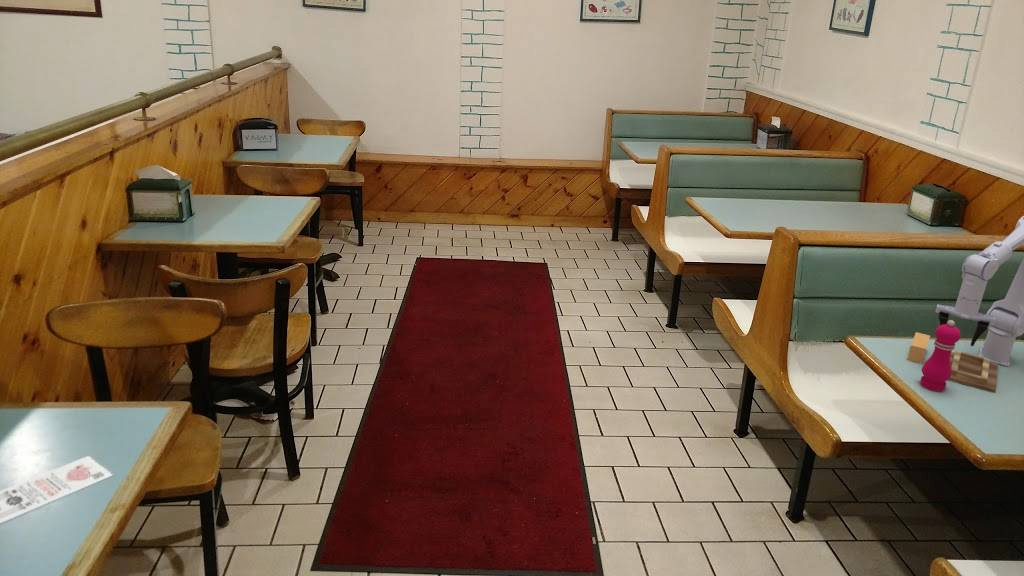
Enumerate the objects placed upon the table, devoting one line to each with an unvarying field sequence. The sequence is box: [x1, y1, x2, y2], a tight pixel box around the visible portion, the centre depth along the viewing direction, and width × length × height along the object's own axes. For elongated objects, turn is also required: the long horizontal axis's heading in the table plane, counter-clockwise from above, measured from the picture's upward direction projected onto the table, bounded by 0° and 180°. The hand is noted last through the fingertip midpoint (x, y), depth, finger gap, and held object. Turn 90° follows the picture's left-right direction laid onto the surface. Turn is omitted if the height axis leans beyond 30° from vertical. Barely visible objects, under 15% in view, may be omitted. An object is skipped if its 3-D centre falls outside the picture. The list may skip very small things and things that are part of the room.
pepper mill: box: [919, 319, 961, 392], centre depth 208 cm, size 7×7×20 cm
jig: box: [948, 350, 999, 394], centre depth 220 cm, size 20×14×2 cm
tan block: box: [906, 331, 931, 364], centre depth 229 cm, size 12×4×5 cm, turn 148°
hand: (956, 341), depth 217 cm, fingers open, 7 cm apart
